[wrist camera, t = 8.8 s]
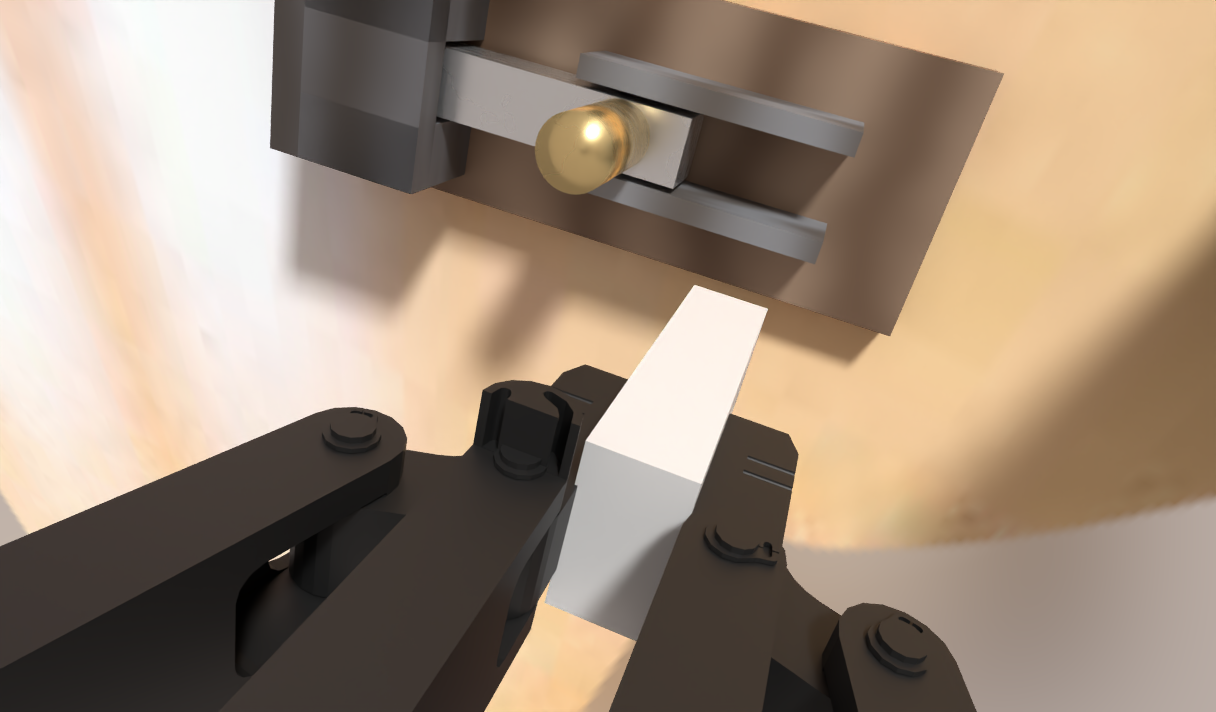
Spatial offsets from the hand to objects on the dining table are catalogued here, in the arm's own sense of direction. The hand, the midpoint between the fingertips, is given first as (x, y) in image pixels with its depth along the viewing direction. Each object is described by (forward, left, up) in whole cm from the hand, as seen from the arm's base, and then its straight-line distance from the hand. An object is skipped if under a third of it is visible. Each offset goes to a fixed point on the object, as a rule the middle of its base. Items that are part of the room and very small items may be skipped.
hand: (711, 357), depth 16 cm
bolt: (+13, 0, -22) cm, 25 cm away
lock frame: (+8, 0, -24) cm, 26 cm away
